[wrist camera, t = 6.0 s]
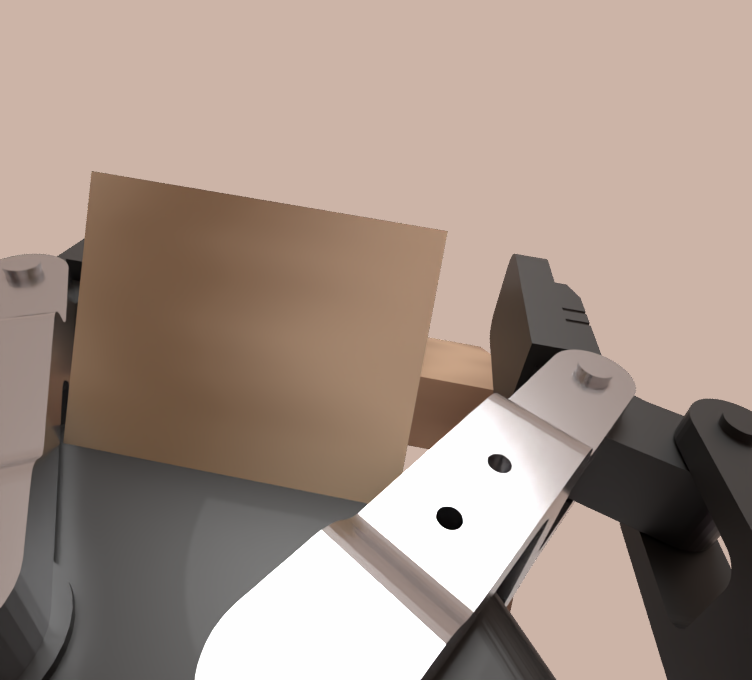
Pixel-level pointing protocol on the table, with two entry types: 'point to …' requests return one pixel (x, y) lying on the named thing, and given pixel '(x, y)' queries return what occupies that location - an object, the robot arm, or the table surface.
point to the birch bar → (250, 336)
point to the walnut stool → (449, 390)
